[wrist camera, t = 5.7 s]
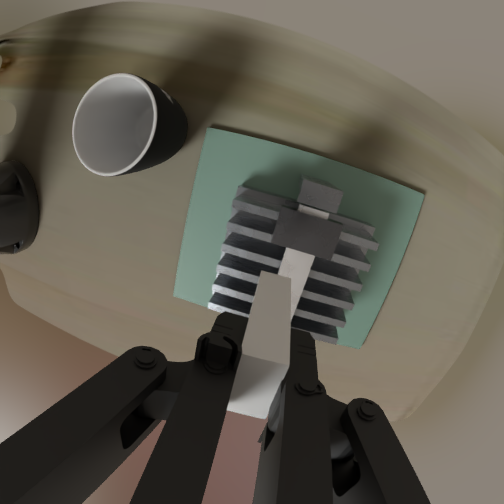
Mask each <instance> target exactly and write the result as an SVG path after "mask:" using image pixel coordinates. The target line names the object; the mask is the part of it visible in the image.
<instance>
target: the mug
mask: <svg viewBox="0 0 504 504" xmlns="http://www.w3.org/2000/svg"><path fill="white" fill-rule="evenodd" d="M186 135H187V119H186V116H185V113H184V111H183V109H182V108H181V106H180V105H179V104H178V103H177V102H176V100H174V99H173V98H172V97H171V96H170V95H169V94H168V93H166V92H165V91H164V90H162V89H161V88H159V87H158V86H156V85H155V84H153V83H151V82H149V81H147V80H145V79H143V78H141V77H139V76H136V75H133V74H129V73H116V74H112V75H109V76H106V77H104V78H102V79H101V80H99V81H98V82H96V83H95V84H94V85H93V86H92V87H91V88H90V89H89V90H88V91H87V92H86V94H85V95H84V96H83V98H82V100H81V101H80V103H79V105H78V107H77V110H76V113H75V116H74V121H73V129H72V136H73V144H74V148H75V151H76V153H77V156H78V158H79V159H80V161H81V162H82V164H83V165H84V166H85V167H86V168H87V169H89V170H90V171H92V172H93V173H95V174H98V175H102V176H119V175H124V174H129V173H133V172H137V171H141V170H144V169H147V168H150V167H153V166H155V165H158V164H160V163H162V162H164V161H166V160H168V159H169V158H171V157H172V156H173V155H175V154H176V153H177V152H178V150H179V149H180V148H181V146H182V145H183V143H184V141H185V138H186Z"/></svg>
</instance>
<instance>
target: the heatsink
mask: <svg viewBox="0 0 504 504" xmlns="http://www.w3.org/2000/svg"><path fill="white" fill-rule="evenodd" d="M299 190H300V192H299V195H298V199H297V200H296V199H292V198H289V197H286V196H282V195H279V194H275V193H272V192H268V191H265V190H261V189H257V188H254V187H250V186H246V185H243V184H241V185H239V186H238V188H237V192H236V196H235V198H234V199H233V201H232V205H231V207H232V212H231V216H230V220H229V221H228V222H227V226H226V230H227V233H226V237H225V241H224V242H223V243H222V247H221V251H222V254H221V258H220V261H219V263H218V264H217V268H216V272H217V275H216V280H215V281H214V283H213V286H212V291H213V293H212V295H213V296H212V298H211V299H210V301H209V304H208V309H212V310H215V311H218V312H221V313H223V312H225V311H227V312H230V313H234V314H237V315H241V316H245V317H249V314H250V310H251V307H252V303H253V299H254V296H255V292H256V289H257V285H258V281H259V278H260V274H261V270H262V271H266V272H269V273H273V274H278V271H279V268H280V265H281V261H282V258H283V255H284V252H285V249H286V247H284V246H280V245H277V244H273V243H271V240H272V237H273V233H274V230H275V226H276V223H277V220H278V216H279V213H280V209H281V206H282V204H283V205H287V206H290V207H293V208H297V209H298V206H299V203H302V204H306V205H309V206H312V207H315V208H319V209H322V210H325V211H328V212H329V216H328V218H329V219H332V220H335V221H338V222H342V224H343V229H342V232H341V234H340V237H339V240H338V243H337V246H336V248H335V251H334V254H333V257H332V259H331V261H330V260H327V259H324V258H320V257H317V256H315V258H314V261H313V263H312V266H311V269H310V272H309V275H308V277H307V280H306V283H305V286H304V288H303V291H302V294H301V296H300V299H299V302H298V304H297V307H296V310H295V312H294V315H293V317H292V320H291V328H294V329H299V330H303V331H307V332H310V334H311V335H312V337H313V338H314V339H316V340H320V341H324V342H328V343H332V344H336V343H337V341H338V339H339V338H338V333H337V328H336V326H337V327H341V328H344V327H345V325H346V318H345V314H344V311H343V309H348V310H351V311H352V309H353V307H354V305H355V304H354V301H353V298H352V295H351V290H355V291H359V292H360V291H361V289H362V286H363V284H362V282H361V280H360V278H359V276H358V273H359V271H360V270H363V271H366V272H369V269H370V267H371V264H370V262H369V261H368V259H367V258H366V256H365V255H366V253H367V250H368V249H371V250H374V251H377V249H378V246H379V243H378V242H377V241H376V240H375V239H374V238H373V233H374V231H375V227H374V226H373V225H372V224H370V223H368V222H365V221H362V220H359V219H356V218H353V217H350V216H347V215H344V214H341V213H338V212H337V210H338V207H339V205H340V203H341V199H342V196H343V193H344V192H343V191H342V190H340V189H339V188H337V187H336V186H334V185H333V184H331V183H330V182H327V181H324V180H320V179H317V178H314V177H311V176H308V175H304V174H301V176H300V179H299Z"/></svg>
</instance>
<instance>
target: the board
mask: <svg viewBox="0 0 504 504" xmlns="http://www.w3.org/2000/svg"><path fill="white" fill-rule="evenodd" d="M301 174H304V175H308V176H311V177H314V178H317V179H320V180H324V181H327V182H330V183H331V184H333V185H334V186H336V187H337V188H339V189H340V190H342V191H343V192H344V193H343V196H342V199H341V203H340V205H339V207H338V210H337V212H338V213H341V214H344V215H347V216H350V217H353V218H356V219H359V220H362V221H365V222H368V223H370V224H372V225H373V226H374V227H375V231H374V233H373V238H374V239H375V240H376V241H377V242H378V243H379V246H378V249H377V251H374V250H371V249H368V250H367V253H366V255H365V256H366V258H367V259H368V261H369V262H370V264H371V267H370V269H369V272H366V271H363V270H360V271H359V273H358V276H359V278H360V280H361V282H362V284H363V286H362V289H361V291H360V292H359V291H355V290H351V295H352V298H353V301H354V304H355V305H354V307H353V309H352V311H351V310H348V309H343V311H344V314H345V318H346V325H345V327H344V328H341V327H337V326H336V328H337V333H338V338H339V339H338V341H337V343H336V344H339V345H343V346H348V347H352V348H356V349H360V348H361V346H362V344H363V342H364V340H365V338H366V336H367V334H368V332H369V330H370V328H371V326H372V324H373V322H374V320H375V318H376V316H377V314H378V312H379V310H380V308H381V306H382V304H383V302H384V299H385V297H386V295H387V293H388V291H389V288H390V286H391V284H392V282H393V279H394V277H395V275H396V272H397V270H398V267H399V265H400V262H401V260H402V258H403V255H404V252H405V250H406V247H407V245H408V242H409V239H410V237H411V234H412V231H413V228H414V226H415V223H416V220H417V217H418V214H419V211H420V208H421V205H422V202H423V199H424V194H422V193H419V192H417V191H415V190H412V189H410V188H408V187H405V186H403V185H400V184H398V183H395V182H393V181H390V180H388V179H385V178H382V177H380V176H377V175H375V174H372V173H369V172H366V171H364V170H361V169H358V168H355V167H352V166H349V165H347V164H344V163H341V162H338V161H335V160H332V159H328V158H325V157H322V156H319V155H316V154H312V153H309V152H306V151H302V150H299V149H296V148H292V147H288V146H285V145H281V144H278V143H274V142H270V141H266V140H262V139H258V138H254V137H250V136H246V135H242V134H237V133H233V132H228V131H224V130H219V129H214V128H209V127H207V131H206V135H205V139H204V143H203V147H202V151H201V156H200V160H199V164H198V168H197V173H196V177H195V182H194V186H193V191H192V195H191V200H190V205H189V210H188V215H187V220H186V225H185V230H184V235H183V240H182V246H181V251H180V257H179V263H178V269H177V275H176V281H175V287H174V294H173V296H175V297H178V298H181V299H184V300H187V301H190V302H193V303H196V304H199V305H202V306H205V307H208V304H209V301H210V299H211V298H212V296H213V295H212V293H213V291H212V286H213V283H214V281H215V280H216V275H217V272H216V268H217V264H218V263H219V261H220V258H221V254H222V251H221V247H222V243H223V242H224V241H225V237H226V233H227V230H226V226H227V222H228V221H229V220H230V216H231V212H232V207H231V205H232V201H233V199H234V198H235V196H236V192H237V188H238V186H239V185H241V184H243V185H246V186H250V187H254V188H257V189H261V190H265V191H268V192H272V193H275V194H279V195H282V196H286V197H289V198H292V199H296V200H297V199H298V195H299V192H300V190H299V179H300V176H301Z"/></svg>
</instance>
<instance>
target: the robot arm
mask: <svg viewBox="0 0 504 504" xmlns="http://www.w3.org/2000/svg"><path fill="white" fill-rule="evenodd" d="M38 218H39V209H38V199H37V194H36V189H35V186H34V183H33V180H32V178H31V176H30V174H29V172H28V171H27V169H26V168H25V167H24V166H23V165H22V164H21V163H19V162H17V161H7V162H2V163H0V254H15V253H18V252H20V251H22V250H25V249H27V248H28V247H29V246H30V245H31V244H32V242H33V240H34V238H35V236H36V232H37V227H38ZM315 349H316V348H315V340H314V338H313V337H312V335H311V334H310V332H307V331H303V330H299V329H294V328H291V278H288V277H284V276H280V275H277V274H273V273H269V272H266V271H262V270H261V274H260V278H259V281H258V285H257V289H256V292H255V296H254V299H253V303H252V307H251V310H250V314H249V317H245V316H241V315H237V314H234V313H230V312H227V311H225V312H223V313H222V314H220V315H218V316H217V318H216V320H215V323H214V325H213V327H212V329H211V331H210V332H209V333H206V334H203V335H201V336H200V338H199V339H198V341H197V347H196V352H195V358H194V360H191V361H188V362H170V361H167V359H166V357H165V356H164V354H163V353H161V352H160V351H159V350H157V349H155V348H152V347H147V346H138V347H134V348H132V349H129V350H128V351H126V352H125V353H124V354H122V355H121V356H120V357H118V358H117V359H116V360H114V361H113V362H111V363H110V364H109V365H108V366H106V367H105V368H103V369H102V370H101V371H99V372H98V373H97V374H95V375H94V376H93V377H91V378H90V379H88V380H87V381H86V382H84V383H83V384H82V385H80V386H79V387H78V388H76V389H75V390H74V391H72V392H71V393H69V394H68V395H67V396H65V397H64V398H63V399H61V400H60V401H58V402H57V403H56V404H54V405H53V406H51V407H50V408H49V409H47V410H46V411H45V412H43V413H42V414H40V415H39V416H38V417H36V418H35V419H34V420H32V421H31V422H29V423H28V424H27V425H25V426H24V427H23V428H21V429H20V430H19V431H17V432H16V433H15V434H13V435H12V436H10V437H9V438H7V439H6V440H5V441H3V442H2V443H1V444H0V504H82V503H83V502H84V501H85V500H86V499H87V498H88V497H89V496H90V495H91V494H92V493H93V492H94V491H95V490H96V489H97V488H98V487H99V486H100V485H101V484H102V483H103V482H104V481H105V480H106V479H107V478H108V477H109V476H110V475H111V474H112V473H113V472H114V471H115V470H116V469H117V468H118V467H119V466H120V465H121V464H122V463H123V461H125V459H126V458H127V457H128V456H129V455H130V454H131V453H132V452H133V451H134V450H135V449H136V448H137V447H138V446H139V445H140V444H141V442H142V441H143V440H144V439H145V438H146V437H147V436H148V435H149V434H150V433H151V432H152V431H153V429H155V427H156V426H157V425H158V424H159V423H160V422H161V420H167V421H166V424H165V425H164V428H163V430H162V432H161V434H160V436H159V439H158V441H157V443H156V445H155V448H154V450H153V452H152V454H151V457H150V459H149V461H148V463H147V465H146V468H145V470H144V472H143V474H142V477H141V479H140V481H139V483H138V486H137V488H136V490H135V492H134V495H133V497H132V499H131V501H130V504H201V503H202V499H203V495H204V492H205V489H206V485H207V481H208V478H209V474H210V470H211V467H212V463H213V459H214V455H215V452H216V448H217V444H218V440H219V437H220V433H221V429H222V425H223V422H224V418H225V414H226V410H229V411H232V412H236V413H240V414H244V415H248V416H253V417H257V418H262V419H266V417H267V415H268V413H269V416H268V422H267V424H266V426H265V428H264V430H263V432H262V434H261V436H260V438H259V441H258V442H259V443H261V442H262V445H261V452H260V459H259V465H258V472H257V479H256V485H255V491H254V497H253V503H252V504H430V501H429V499H428V498H427V495H426V493H425V491H424V489H423V487H422V485H421V483H420V481H419V479H418V477H417V475H416V473H415V471H414V469H413V467H412V465H411V463H410V461H409V459H408V457H407V455H406V454H405V452H404V450H403V448H402V446H401V444H400V442H399V440H398V438H397V436H396V434H395V432H394V431H393V429H392V427H391V425H390V423H389V421H388V419H387V417H386V416H385V414H384V412H383V410H382V409H381V408H380V406H379V405H377V404H376V403H375V402H373V401H371V400H368V399H365V398H357V399H353V400H352V401H351V402H350V403H349V404H348V405H347V404H345V403H342V402H340V401H337V400H335V399H333V398H331V397H329V396H328V395H327V394H326V390H325V387H324V385H323V384H322V383H321V382H320V381H319V380H318V371H317V359H316V350H315Z"/></svg>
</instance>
